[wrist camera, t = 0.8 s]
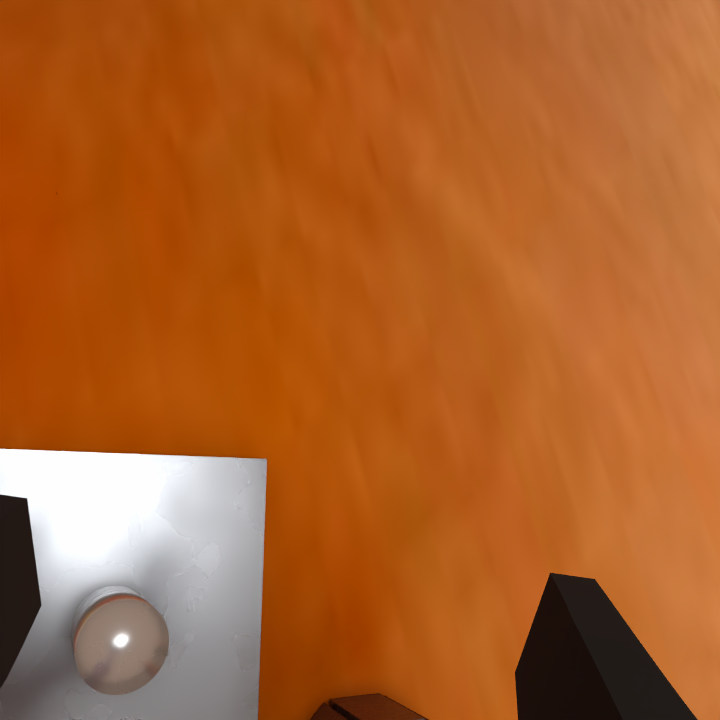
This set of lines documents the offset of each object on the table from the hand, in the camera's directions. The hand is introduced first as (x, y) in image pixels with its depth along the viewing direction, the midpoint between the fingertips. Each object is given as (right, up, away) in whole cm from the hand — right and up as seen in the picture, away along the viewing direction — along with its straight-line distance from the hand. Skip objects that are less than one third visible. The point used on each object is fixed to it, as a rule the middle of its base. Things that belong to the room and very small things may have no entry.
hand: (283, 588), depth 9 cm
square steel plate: (-7, -6, +13) cm, 16 cm away
